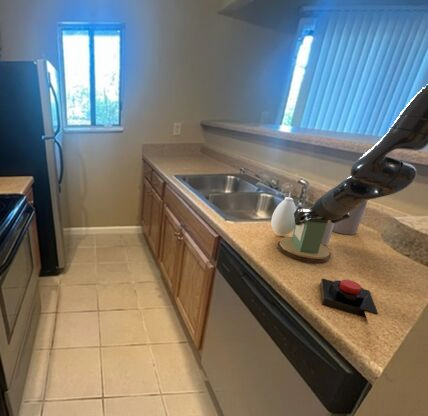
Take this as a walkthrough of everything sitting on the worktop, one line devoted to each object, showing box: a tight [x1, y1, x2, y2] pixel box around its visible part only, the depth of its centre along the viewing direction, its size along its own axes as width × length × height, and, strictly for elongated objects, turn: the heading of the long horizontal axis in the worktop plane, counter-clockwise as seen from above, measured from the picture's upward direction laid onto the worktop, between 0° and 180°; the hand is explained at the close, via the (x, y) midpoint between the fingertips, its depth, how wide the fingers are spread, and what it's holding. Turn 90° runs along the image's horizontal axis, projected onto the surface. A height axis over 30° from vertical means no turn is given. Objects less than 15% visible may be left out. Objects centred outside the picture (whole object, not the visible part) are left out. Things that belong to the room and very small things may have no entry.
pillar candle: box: [332, 201, 368, 236], centre depth 108 cm, size 10×10×15 cm
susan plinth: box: [276, 240, 332, 265], centre depth 94 cm, size 15×15×2 cm
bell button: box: [339, 279, 362, 294], centre depth 70 cm, size 4×4×2 cm
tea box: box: [279, 216, 331, 259], centre depth 92 cm, size 14×14×13 cm
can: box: [321, 222, 335, 246], centre depth 99 cm, size 8×8×12 cm
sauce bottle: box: [270, 190, 297, 237], centre depth 104 cm, size 8×8×18 cm
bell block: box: [319, 278, 379, 319], centre depth 71 cm, size 10×10×4 cm
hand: (306, 223), depth 93 cm, fingers closed on tea box, 5 cm apart
